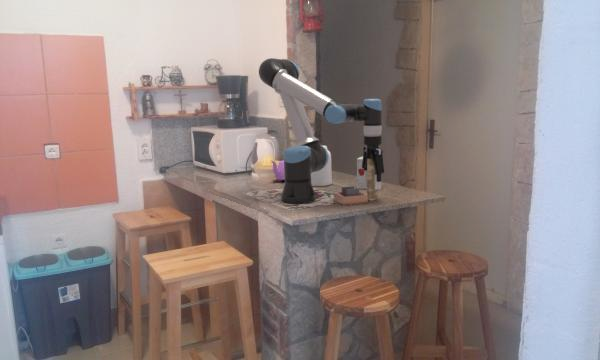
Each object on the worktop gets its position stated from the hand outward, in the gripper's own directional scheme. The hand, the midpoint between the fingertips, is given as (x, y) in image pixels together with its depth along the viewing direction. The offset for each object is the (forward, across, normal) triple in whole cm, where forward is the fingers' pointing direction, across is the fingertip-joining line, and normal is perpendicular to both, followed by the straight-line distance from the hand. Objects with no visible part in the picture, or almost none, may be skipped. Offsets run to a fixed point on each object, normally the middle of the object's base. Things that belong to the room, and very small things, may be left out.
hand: (372, 187), depth 209 cm
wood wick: (+6, 0, 0) cm, 6 cm away
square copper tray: (+6, 0, +10) cm, 12 cm away
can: (+6, +44, +9) cm, 45 cm away
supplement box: (+6, +26, -10) cm, 28 cm away
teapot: (+6, +60, +22) cm, 65 cm away
